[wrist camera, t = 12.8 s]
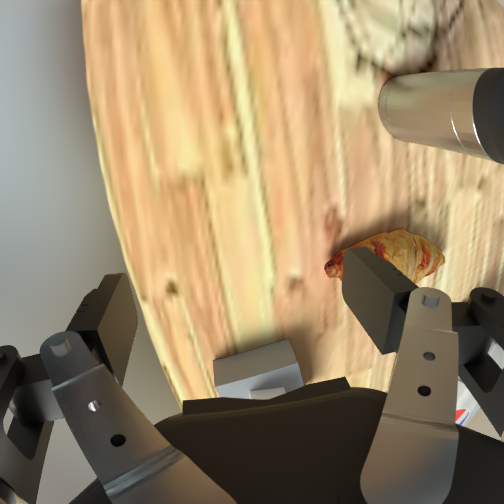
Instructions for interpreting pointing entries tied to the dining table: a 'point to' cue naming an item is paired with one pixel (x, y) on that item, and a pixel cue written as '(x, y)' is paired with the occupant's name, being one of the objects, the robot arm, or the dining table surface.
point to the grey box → (258, 371)
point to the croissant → (396, 254)
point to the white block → (267, 393)
